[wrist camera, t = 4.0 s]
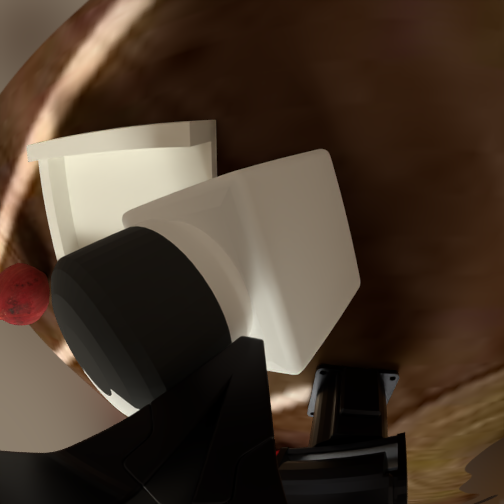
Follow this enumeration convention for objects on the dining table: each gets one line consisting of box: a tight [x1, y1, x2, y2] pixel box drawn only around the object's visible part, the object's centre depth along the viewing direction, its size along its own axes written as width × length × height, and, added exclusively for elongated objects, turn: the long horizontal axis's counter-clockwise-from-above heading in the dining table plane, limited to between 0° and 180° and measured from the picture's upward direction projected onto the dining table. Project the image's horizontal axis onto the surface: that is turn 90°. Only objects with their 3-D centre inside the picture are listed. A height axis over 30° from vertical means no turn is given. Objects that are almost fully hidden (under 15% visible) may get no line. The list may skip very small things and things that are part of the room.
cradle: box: [27, 120, 217, 261], centre depth 19 cm, size 11×13×4 cm
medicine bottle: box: [51, 149, 360, 417], centre depth 12 cm, size 7×7×12 cm
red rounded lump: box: [0, 263, 50, 325], centre depth 23 cm, size 6×6×8 cm
